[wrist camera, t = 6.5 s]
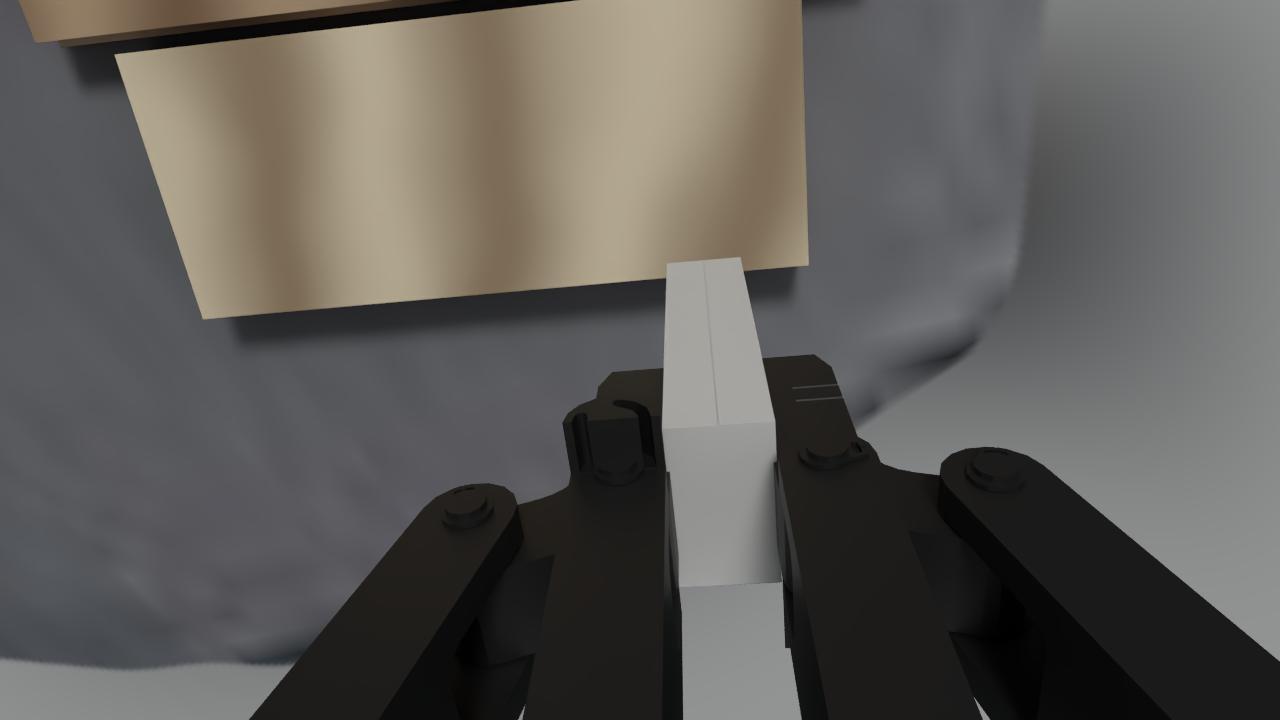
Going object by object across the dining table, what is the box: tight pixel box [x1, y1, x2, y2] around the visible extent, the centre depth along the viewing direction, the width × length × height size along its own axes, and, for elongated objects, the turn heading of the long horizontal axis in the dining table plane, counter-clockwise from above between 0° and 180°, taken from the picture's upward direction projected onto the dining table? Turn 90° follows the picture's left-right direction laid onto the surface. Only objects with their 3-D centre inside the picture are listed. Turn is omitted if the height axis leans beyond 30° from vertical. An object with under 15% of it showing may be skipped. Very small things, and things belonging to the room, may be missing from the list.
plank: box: [115, 0, 809, 319], centre depth 23 cm, size 18×8×2 cm, turn 96°
